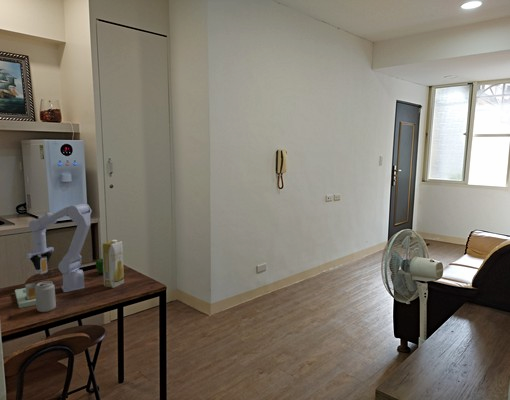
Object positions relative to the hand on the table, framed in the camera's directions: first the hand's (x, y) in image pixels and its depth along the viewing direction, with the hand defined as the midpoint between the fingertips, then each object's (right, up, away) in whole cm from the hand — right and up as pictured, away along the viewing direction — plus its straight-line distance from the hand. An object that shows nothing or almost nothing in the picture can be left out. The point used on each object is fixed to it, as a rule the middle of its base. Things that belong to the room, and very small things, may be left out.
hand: (41, 268), depth 192 cm
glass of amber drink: (+6, -12, -18) cm, 23 cm away
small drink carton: (0, -2, 0) cm, 2 cm away
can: (+17, -14, -26) cm, 34 cm away
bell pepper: (+24, -7, +21) cm, 33 cm away
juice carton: (+36, -9, +3) cm, 37 cm away
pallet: (+3, -11, -15) cm, 19 cm away
